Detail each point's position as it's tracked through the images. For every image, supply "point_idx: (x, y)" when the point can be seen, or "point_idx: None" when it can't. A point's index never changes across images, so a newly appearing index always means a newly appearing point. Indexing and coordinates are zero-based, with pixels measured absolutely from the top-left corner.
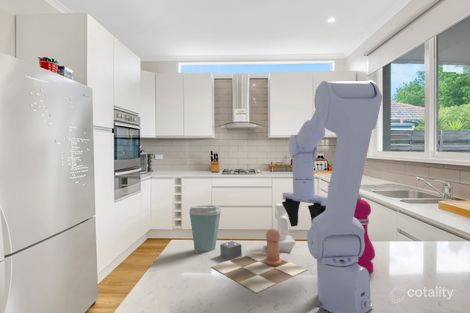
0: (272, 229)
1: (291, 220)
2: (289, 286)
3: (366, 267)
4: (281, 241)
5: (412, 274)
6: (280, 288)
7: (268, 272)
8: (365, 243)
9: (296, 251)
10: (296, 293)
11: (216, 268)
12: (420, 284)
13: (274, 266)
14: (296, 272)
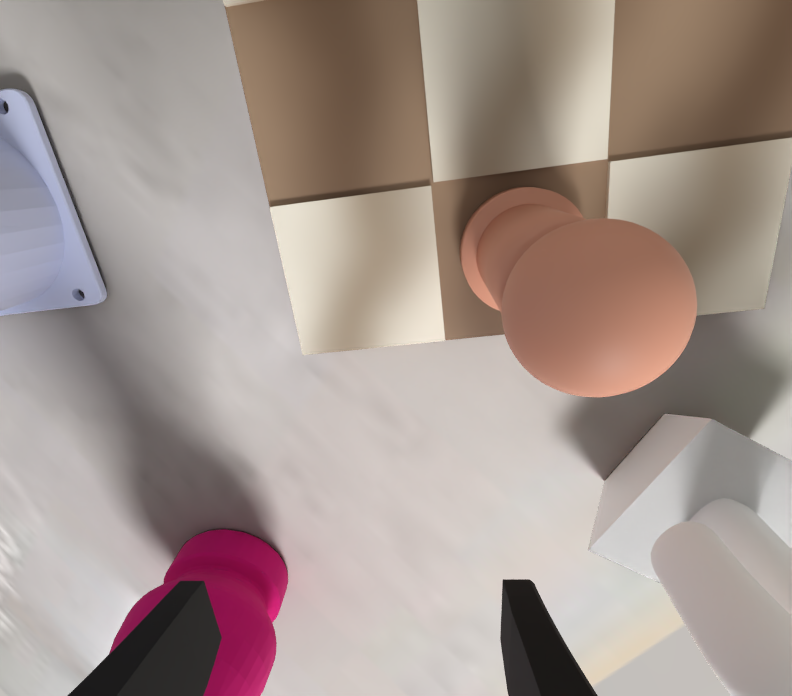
0: (615, 323)
1: (524, 650)
2: (230, 130)
3: (167, 572)
4: (678, 486)
5: (108, 648)
6: (232, 55)
7: (410, 98)
8: None
9: (586, 514)
10: (141, 104)
11: None
12: (35, 601)
13: (463, 209)
14: (296, 261)
